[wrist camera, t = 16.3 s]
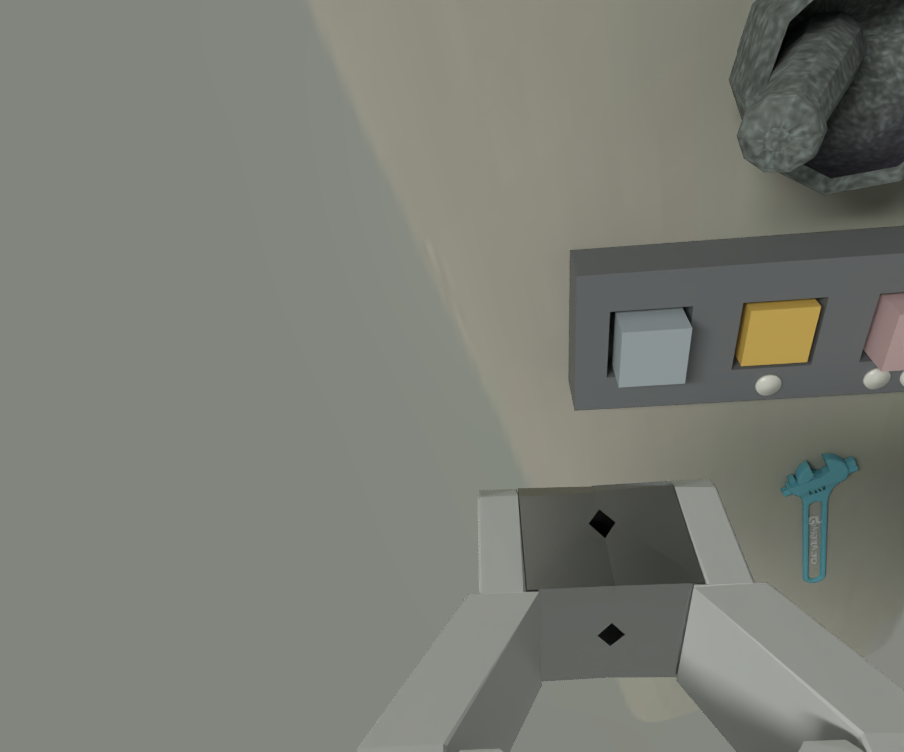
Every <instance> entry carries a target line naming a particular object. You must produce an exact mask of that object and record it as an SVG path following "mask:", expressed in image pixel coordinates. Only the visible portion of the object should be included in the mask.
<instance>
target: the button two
mask: <svg viewBox="0 0 904 752" xmlns="http://www.w3.org/2000/svg"><path fill="white" fill-rule="evenodd" d="M863 350H864V351H865V352H866V354H867V355H868V356H869V357H870V359H871V360H872V361H873V362H874V364H875V365H876V366H877V367H878V369H879V370H880V371H881V372H884V371H901V370H904V292H898V293H883V294H880V296H879V299H878V302H877V306H876V309H875V312H874V315H873V319H872V322H871V325H870V328H869V332H868V335H867V338H866V341H865V345H864V348H863Z"/></svg>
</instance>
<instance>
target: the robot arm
mask: <svg viewBox="0 0 904 752" xmlns="http://www.w3.org/2000/svg"><path fill="white" fill-rule="evenodd" d="M478 543H479V545H478V547H479V594H468V595H467V596H466V597H465V599H464V600H463V602H462V603H461V605H460V606H459V607H458V609H457V610H456V611H455V613H454V614H453V616H452V617H451V618H450V620H449V621H448V623H447V624H446V625H445V627H444V628H443V630H442V631H441V632H440V634H439V635H438V637H437V638H436V639H435V641H434V642H433V644H432V645H431V646H430V648H429V649H428V650H427V652H426V653H425V655H424V656H423V657H422V659H421V660H420V662H419V663H418V665H417V666H416V667H415V669H414V670H413V671H412V673H411V674H410V676H409V677H408V679H407V680H406V681H405V683H404V684H403V686H402V687H401V688H400V690H399V691H398V692H397V694H396V695H395V697H394V698H393V700H392V701H391V702H390V704H389V705H388V706H387V708H386V709H385V711H384V712H383V713H382V715H381V716H380V718H379V719H378V721H377V722H376V723H375V725H374V726H373V727H372V729H371V730H370V732H369V733H368V734H367V736H366V737H365V738H364V740H363V741H362V743H361V744H360V746H359V747H358V748H357V752H510V750H511V747H512V745H513V743H514V741H515V739H516V737H517V735H518V733H519V731H520V729H521V727H522V725H523V723H524V721H525V719H526V716H527V715H528V713H529V711H530V708H531V706H532V704H533V702H534V700H535V698H536V696H537V694H538V692H539V690H540V688H541V686H542V685H541V684H542V683H541V681H555V680H572V679H588V678H605V677H677V680H676V681H677V682H678V683H679V684H680V685H681V686H682V688H683V689H684V690H685V691H686V692H687V694H688V695H689V696H690V697H691V698H692V700H693V701H694V702H695V703H696V704H697V705H698V707H699V708H700V709H701V710H702V711H703V713H704V714H705V715H706V716H707V717H708V719H709V720H710V721H711V722H712V723H713V724H714V726H715V727H716V728H717V729H718V730H719V732H720V733H721V734H722V735H723V736H724V737H725V739H726V740H727V741H728V742H729V743H730V744H731V746H732V747H733V748H734V749H735V751H736V752H904V690H903V689H902V688H901V687H900V686H898V685H897V684H896V683H895V682H893V681H892V680H891V679H889V678H888V677H887V676H886V675H884V674H883V673H882V672H881V671H879V670H878V669H877V668H876V667H874V666H873V665H872V664H870V663H869V662H868V661H867V660H865V659H864V658H863V657H862V656H860V655H859V654H858V653H857V652H855V651H854V650H853V649H851V648H850V647H849V646H848V645H846V644H845V643H844V642H843V641H841V640H840V639H839V638H837V637H836V636H835V635H834V634H832V633H831V632H830V631H829V630H827V629H826V628H825V627H823V626H822V625H821V624H820V623H818V622H817V621H816V620H815V619H813V618H812V617H811V616H810V615H808V614H807V613H806V612H804V611H803V610H802V609H801V608H799V607H798V606H797V605H796V604H794V603H793V602H792V601H790V600H789V599H788V598H787V597H785V596H784V595H783V594H782V593H780V592H779V591H778V590H777V589H775V588H774V587H773V586H771V585H770V584H769V583H768V582H754V579H753V577H752V574H751V572H750V570H749V567H748V565H747V562H746V560H745V557H744V555H743V552H742V550H741V547H740V545H739V543H738V540H737V538H736V535H735V533H734V530H733V528H732V525H731V523H730V520H729V518H728V515H727V513H726V511H725V508H724V506H723V503H722V501H721V498H720V496H719V493H718V491H717V488H716V486H715V484H714V483H713V482H712V481H711V480H710V479H699V480H682V481H670V482H669V483H668V482H667V481H665V482H648V483H632V484H615V485H598V486H592V487H554V488H518V493H517V489H509V490H479V496H478Z"/></svg>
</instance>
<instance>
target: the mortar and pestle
mask: <svg viewBox="0 0 904 752" xmlns="http://www.w3.org/2000/svg"><path fill="white" fill-rule="evenodd" d="M737 52H738V53H737V56H736V59H735V62H734V65H733V68H732V71H731V74H730V77H729V82H730V85H731V88H732V91H733V94H734V97H735V100H736V103H737V106H738V109H739V113H740V116H741V119H742V123H741V126H740V128H739V131H738V134H737V138H738V141H739V144H740V148H741V151H742V154H743V157H744V159H746V160H747V161H749V162H750V163H752V164H753V165H755V166H756V167H758V168H759V169H760V170H762V171H763V172H779V173H781V174H783V175H785V176H787V177H789V178H791V179H793V180H795V181H797V182H799V183H801V184H803V185H805V186H807V187H809V188H811V189H813V190H815V191H817V192H819V193H821V194H823V195H827V194H832V193H838V192H843V191H849V190H854V189H860V188H865V187H871V186H876V185H882V184H887V183H893V182H898V181H901V180H903V179H904V0H756V1H755V2H754V3H753V4H752V6H751V9H750V12H749V16H748V19H747V22H746V25H745V28H744V31H743V34H742V37H741V40H740V44H739V47H738V50H737Z"/></svg>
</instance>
